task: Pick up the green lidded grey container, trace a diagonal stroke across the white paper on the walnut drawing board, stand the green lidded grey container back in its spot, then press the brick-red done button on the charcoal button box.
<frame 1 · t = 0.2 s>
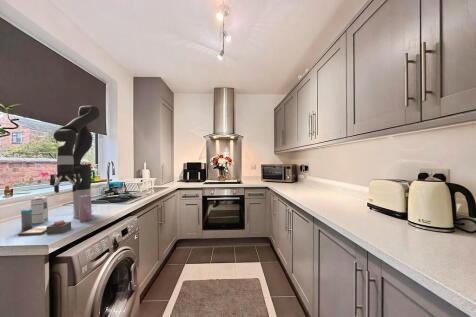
hand: (65, 192, 126), 18 cm above the countertop, tool pointing down, fingers open, 8 cm apart
button box: (59, 231, 111), on the countertop
drawing board: (39, 231, 111), on the countertop
syrup box: (39, 222, 129), on the countertop
done button: (59, 223, 111), point 4 cm above the countertop, slide at 0.0 cm
green lidded grey container: (27, 229, 114), on the countertop
tall pink box: (85, 221, 129), on the countertop
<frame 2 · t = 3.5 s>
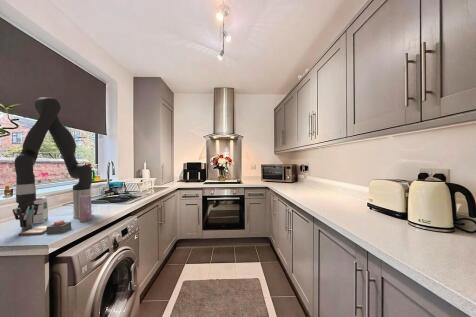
hand: (26, 225, 114), 2 cm above the countertop, tool pointing down, fingers closed on green lidded grey container, 4 cm apart
green lidded grey container: (27, 229, 114), on the countertop, touching gripper
everything else where it was.
when the fingers open (4 cm above the countertop, at t = 12.6 s): green lidded grey container drops 1 cm, on the countertop.
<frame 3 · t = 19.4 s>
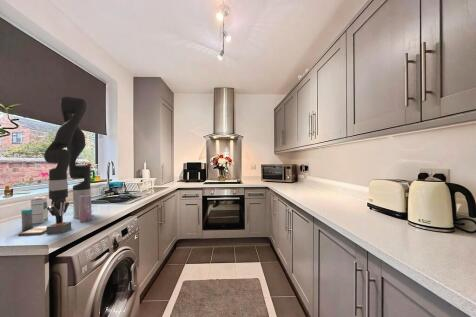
hand: (59, 223, 111), 4 cm above the countertop, tool pointing down, fingers closed
done button: (59, 224, 111), point 3 cm above the countertop, slide at 0.7 cm, touching gripper
green lidded grey container: (27, 229, 114), on the countertop
everything else where it was.
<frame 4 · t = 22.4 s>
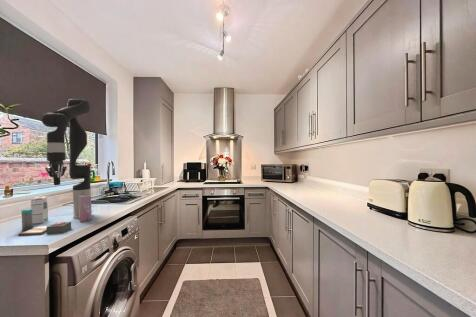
hand: (57, 184, 114), 23 cm above the countertop, tool pointing down, fingers closed
done button: (59, 224, 111), point 3 cm above the countertop, slide at 0.9 cm
everything else where it was.
at the end: done button slide at 0.9 cm; green lidded grey container inside the target area (0.2 cm from its centre), on the countertop; green lidded grey container tilted 0° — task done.
